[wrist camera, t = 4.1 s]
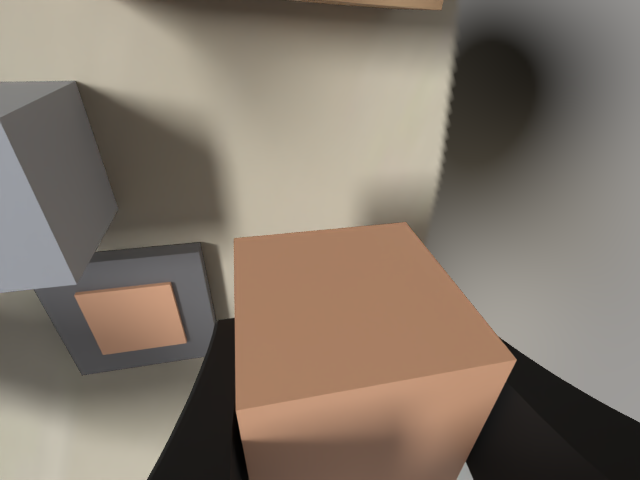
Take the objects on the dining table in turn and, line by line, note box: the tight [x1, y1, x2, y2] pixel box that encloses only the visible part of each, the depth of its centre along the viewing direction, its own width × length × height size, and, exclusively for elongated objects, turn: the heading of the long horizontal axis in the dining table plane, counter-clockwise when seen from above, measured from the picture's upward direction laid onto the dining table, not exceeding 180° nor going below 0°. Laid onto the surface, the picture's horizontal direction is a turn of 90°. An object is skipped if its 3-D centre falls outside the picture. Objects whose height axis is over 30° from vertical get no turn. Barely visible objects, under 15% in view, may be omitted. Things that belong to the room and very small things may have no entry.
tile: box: [34, 242, 216, 375], centre depth 17 cm, size 7×7×1 cm
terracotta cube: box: [234, 222, 517, 480], centre depth 9 cm, size 5×5×5 cm
